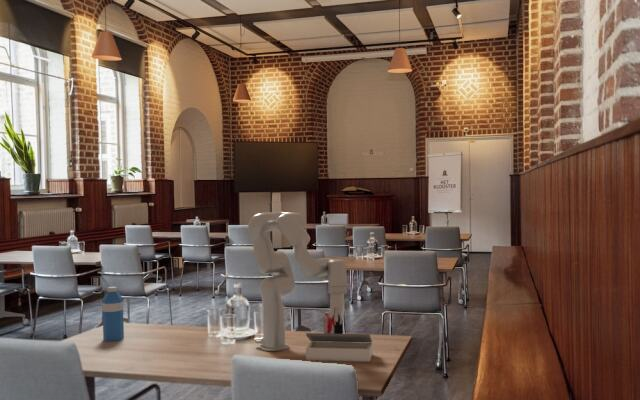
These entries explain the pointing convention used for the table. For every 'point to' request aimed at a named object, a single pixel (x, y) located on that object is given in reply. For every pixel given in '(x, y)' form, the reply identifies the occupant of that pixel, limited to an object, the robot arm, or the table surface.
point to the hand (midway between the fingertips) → (338, 334)
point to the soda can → (328, 323)
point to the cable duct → (339, 351)
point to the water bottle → (113, 315)
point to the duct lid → (339, 337)
